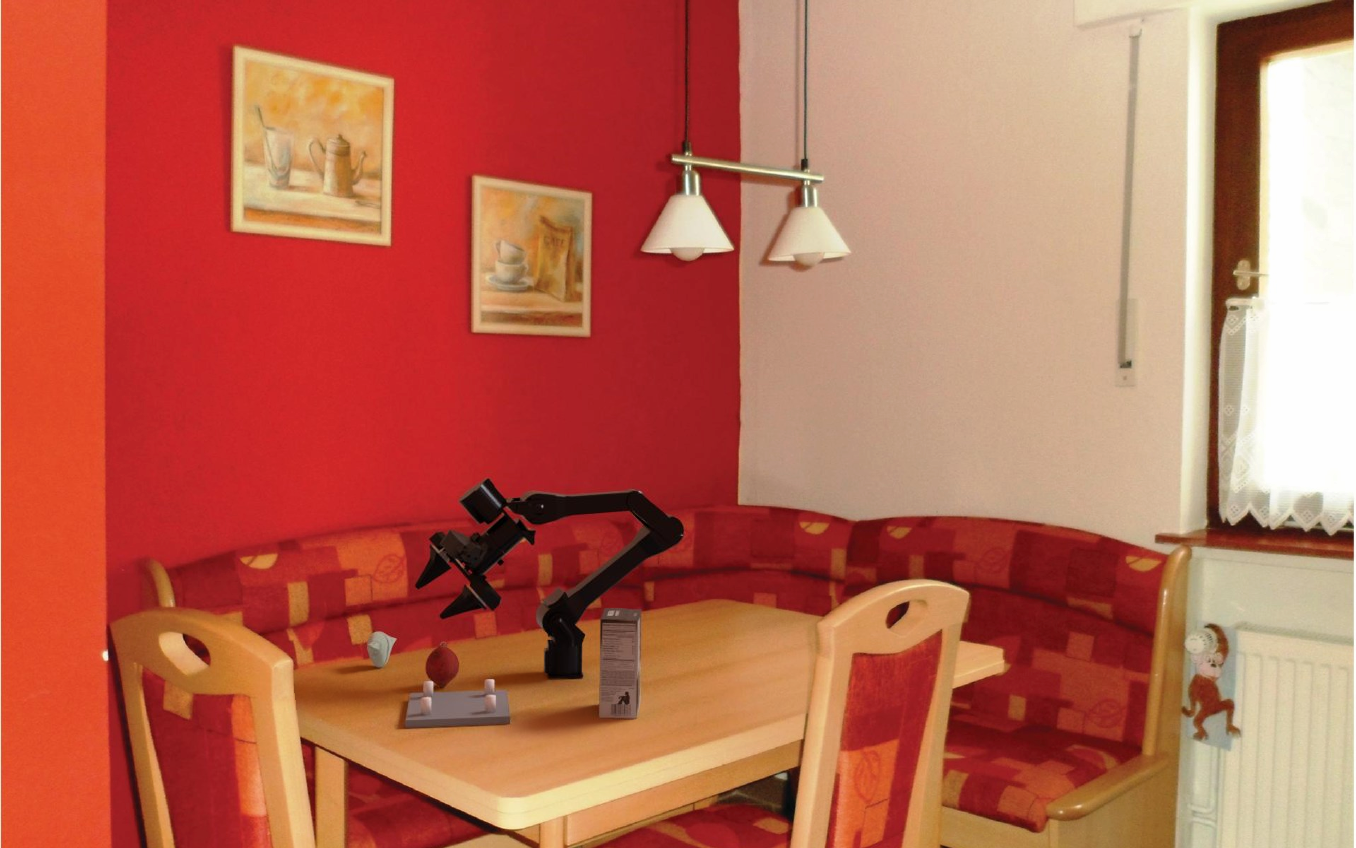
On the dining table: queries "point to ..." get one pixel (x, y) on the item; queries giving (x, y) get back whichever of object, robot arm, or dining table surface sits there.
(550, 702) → the dining table surface
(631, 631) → the coffee box
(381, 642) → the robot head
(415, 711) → the plate
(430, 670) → the onion
